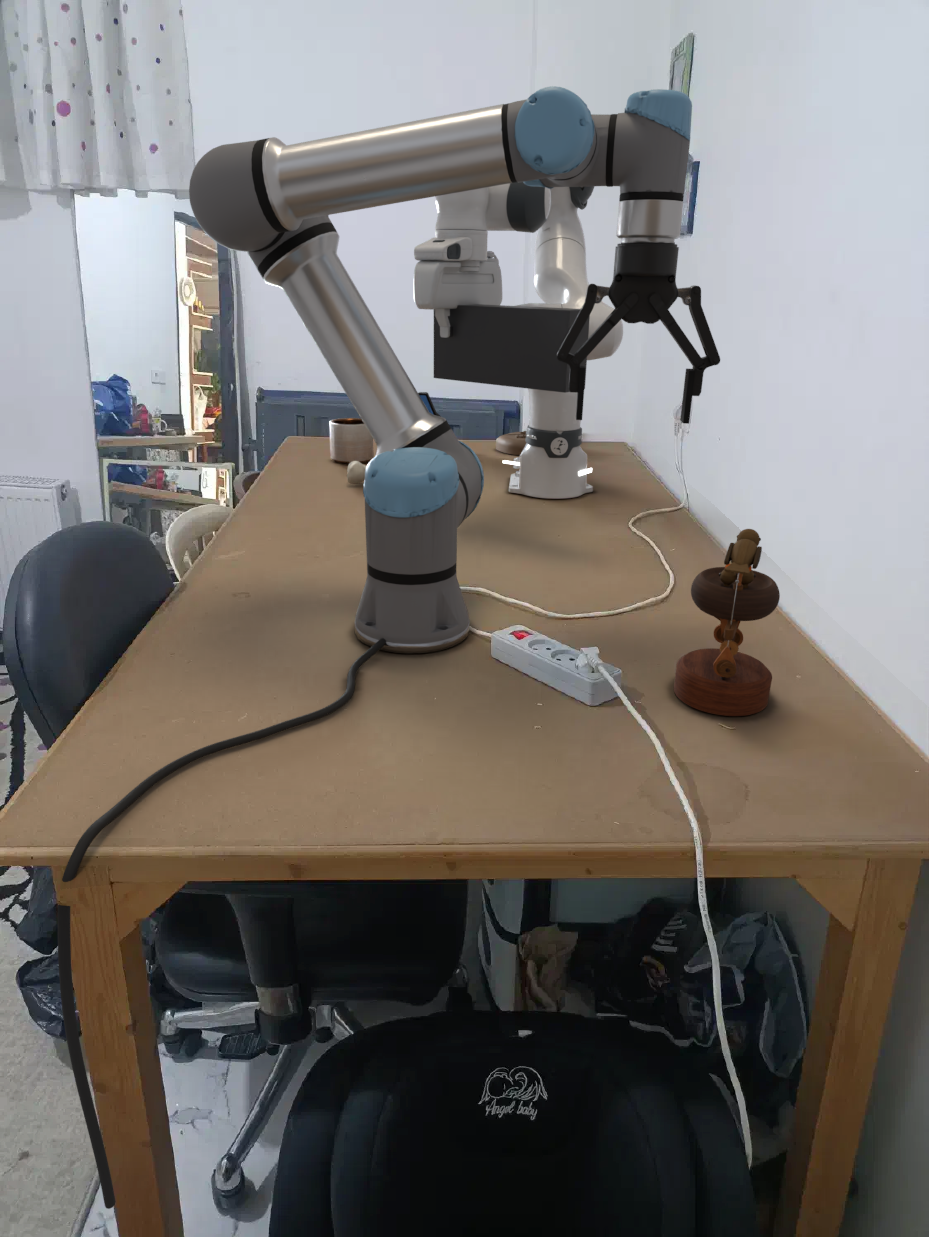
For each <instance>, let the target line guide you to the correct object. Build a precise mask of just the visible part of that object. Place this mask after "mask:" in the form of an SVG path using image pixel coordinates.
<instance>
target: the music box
mask: <svg viewBox="0 0 929 1237" xmlns="http://www.w3.org/2000/svg"><path fill="white" fill-rule="evenodd" d="M761 541H762V538H761V537H760V535H759V532H757V531H756V530H755V529H753V528H745V529H742V530H741V531H740V532H738V534H736V542H730V543H729V545H728V548H727V550H726V553H725V556H724V561H723V564H724V565H725V566H716V567H709V568H705V569H704V570H702V571H701V572H699V573H698V574H697V575H696V576H695V578H694V579H693V581H692V584H691V587H690V595H691V599H692V601H693V603H694V604H695V606H696V607H697V608H699V610H700V611H702V612H703V613H704V614H707V615H709V616H712V617H713V618H715V619H717V620H718V621H719V622H720V624H717V625H716V626H715V627H714V629H713V638H714V640H715V641H716V642H717V643H720V645H719V648H700V649H696V650H692V651H690V652H688V653H686V654H684V655H683V656H681V657H679V659H678V660H677V661H676V666H675V667H676V668H675V673H674V674H675V676H674V684H673V691H674V694H675V696H676V697H677V698H678V699H679V700H680V701H681V702H682V703H684V704H685V705H687V706H689V707H691V708H693V709H695V710H699V711H701V712H704V713H708V714H713V715H717V716H726V717H744V716H749V715H754V714H757V713H760V712H762V711H763V710H765V709H766V707H767V706H768V704H769V697H770V693H771V687H772V680H773V674H772V672H771V670H770V669H769V668H768V667H767V666H766V665H765V664H764V662H762V661H761V660H760V659H757V658H756V657H754V656H752V655H750V654H746V653H744V652H740V651H739V650H740V649H739V647H740V646H741V644H743V642H744V634H743V632H742V631H741V629H740V628H739V627H740V624H741V622H752V621H753V622H754V621H759V620H762V619H764V618H766V617H768V616H769V615H771V614H772V613H773V612H774V611H775V610H776V609H777V607H778V605H779V602H780V596H781V592H780V589H779V587H778V584H777V583H776V582H775V580H774V579H773V578H772V577H771V576H769V575H767V574H765V573H763V572H760V571H757V570H756V569H757V568H758V566H759V564H760V560H761V557H762V550H763V547H762V546H761V545H760V542H761ZM759 545H760V546H759Z"/></svg>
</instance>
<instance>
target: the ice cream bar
mask: <svg viewBox="0 0 929 1237" xmlns="http://www.w3.org/2000/svg"><path fill="white" fill-rule="evenodd" d="M526 431H527V430H523V431H513V432H509V433H505V434H502V435H500V436H498V437H497V438H496V440H495V450H496V451H499V452H501V453H504V454H509V455H515V456H520V454H521V453H522V451H523V449H524V447H525V445H526V441H525V440H526Z"/></svg>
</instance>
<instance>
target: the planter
mask: <svg viewBox="0 0 929 1237" xmlns="http://www.w3.org/2000/svg"><path fill="white" fill-rule="evenodd" d="M328 424H329V425H328V426H329V453H330V454H329V455H330V456H329V457H330V459H331V460H332V461H333V462H335V463H341V464H350V463H351V462H353V461H359V462H360V463H361V464H364V463H367V462H368V463H369V462H370V461H371V460H372V459H373V458H374V457H375V455H374V452H375V451H374V450H375V449H374V439H373V437H372V436H371V434H370V432H369V431H368V429H367V428H366V426H365V424H364V423H363V421H362V419H361V418H360V417H342V418H341V417H340V418H335V419H334V418H333V419H331V420H329V421H328Z"/></svg>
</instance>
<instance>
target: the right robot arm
mask: <svg viewBox="0 0 929 1237" xmlns="http://www.w3.org/2000/svg"><path fill="white" fill-rule="evenodd" d="M594 189H595V186H589V187H554V188H551V189H548V188H546V187H535V186H527V185H526V184H524V182H516V183H509V184H503V185H497V186H492V187H486V188H480V189H474V190H469V191H463V192H457V193H452V194H446V195H440V196H434V202H435V207H436V214H437V215H436V216H437V217H436V221H435V226H434V237H431V238H429V239H428V240H426V241H424V242H422V243H419V244H418V245H416V246H415V247H414V249H413V257H414V260H415V261H418V262H417V263H416V264H415V267H414V271H413V301H414V303H415V306H416V308H417V309H419V310H433V309H435V317H436V319H437V321H438V324H439V326H440V336H441V337H444V338H449V337H452V336H453V327H452V326H450V323H449V320H448V316H450V309H456V308H457V305H476V304H482V305H501V304H502V302H503V276H502V270H501V269H502V268H501V267H500V261H499V260H500V259H499V258H498V257H497V255H496V254H495V252H494V251H492V250H488V238H489V236H488V234H489V232H496V231H497V232H519V233H529V234H531V233H532V234H534V233H536V237H535V241H534V249H533V250H534V252H533V253H534V254H533V288H534V290H535V292H536V294H537V295H538V297H539V299H540V300H542V302H527V303H522V304H515V306H527V307H549V308H571V309H581V308H582V306H583V304H584V303H585V298H586V292H587V287H588V285H589V284H590V283H589V280H588V271H587V249H586V248H587V247H586V238H585V233H584V229H583V225H582V222H581V218H580V217H579V215H578V209H579V210H585V208H587V206H588V200H589V199H590V197H591V196H592V194H593V192H594ZM614 309H615V307H611V305H608V304H606V303H605V302H604V301H603V300H602V301H601V302H600V303H598V304H596V303H595V305H594V308H593V310H592V312H591V314H590V319H589V334H588V339H589V337H590V336H591V335H592V334H593V333H594V332H595V331H596V330H597V328H598V327H599V326H600V325H601V324H602V323H603V322H604V321H605V320H606V318H607V317H608V316H609V315H610V314H611V312H612V311H613V310H614ZM623 338H624V324H623V320H622V319H621V320H620V321H619V322H618V323H617V324H616V325H615V326H614V327H613V328H612V329H611V331H610V332H609V333H608V334H607V335H606V336H605V337H604V338H603V339H602V341H601V342H600V343H599V344H598V345H597V346H596V347H595V348H594V349H593V350H592V352H591V353H590V354H589V355H588V356H587V361H594V360H600V359H604V358H611V357H612V356H614V354H615V353H616V352H617V350H618V349H619V348H620V346H621V344H622V341H623ZM527 390H528V425H527V426H526V430H525V431H526V440H525V441H526V445H525V447H524V449H523V451H522V453H521V454H520V455H519V456H517V457H514V458H513V459H512V460H506V459H504V460H503V459H502V464H506V465H512V469H514V470H515V469H516V470H515V473H511V474H510V479H509V485H508V493H512V494H519V495H524V496H527V497H533V498H540V499H553V500H554V499H556V500H557V499H558V500H559V499H561V500H562V499H571V498H577V497H581V496H582V495H585V494H588V493H592V492H594V486H593V485H591V484H589V483H588V474H591V473H593V467H589V468H588V454H587V453H586V452H585V451H584V450H583V449H582V447H581V445H582V441H583V428H582V426H581V423H582V420H576V407H577V393H575V392H566V393H563V392H554V391H545V390H537V389H528V388H527ZM518 469H519V470H518Z"/></svg>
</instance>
